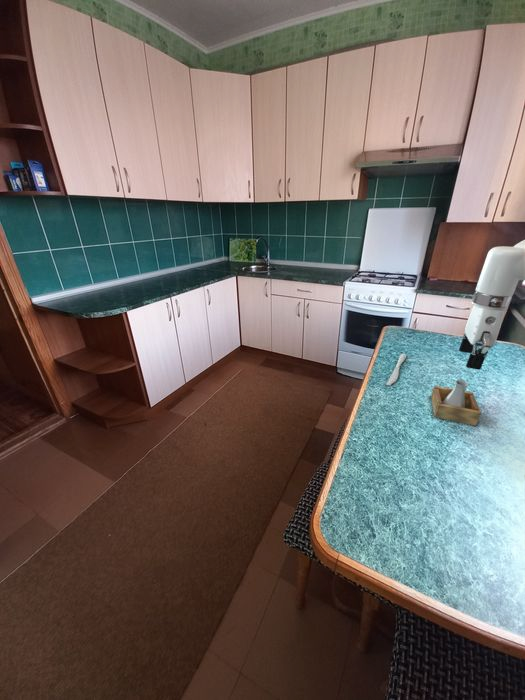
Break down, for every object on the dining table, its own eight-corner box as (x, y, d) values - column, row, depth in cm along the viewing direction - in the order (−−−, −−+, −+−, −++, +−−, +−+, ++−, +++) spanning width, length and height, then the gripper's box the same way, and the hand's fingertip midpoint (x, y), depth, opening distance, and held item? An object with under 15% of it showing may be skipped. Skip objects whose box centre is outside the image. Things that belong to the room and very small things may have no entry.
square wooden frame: (468, 404, 90) (472, 392, 88) (476, 425, 82) (481, 413, 80) (430, 397, 94) (434, 385, 92) (434, 417, 85) (438, 405, 83)
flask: (463, 421, 83) (474, 393, 79) (435, 411, 88) (444, 383, 83) (468, 409, 88) (479, 382, 83) (441, 400, 92) (450, 373, 88)
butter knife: (409, 354, 118) (401, 352, 120) (392, 386, 99) (384, 383, 100) (409, 356, 118) (401, 353, 120) (392, 388, 99) (383, 385, 101)
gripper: (522, 312, 63) (494, 378, 71) (498, 292, 78) (477, 348, 86) (482, 308, 66) (459, 372, 74) (466, 289, 80) (448, 344, 88)
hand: (468, 359), depth 80 cm, fingers open, 9 cm apart
